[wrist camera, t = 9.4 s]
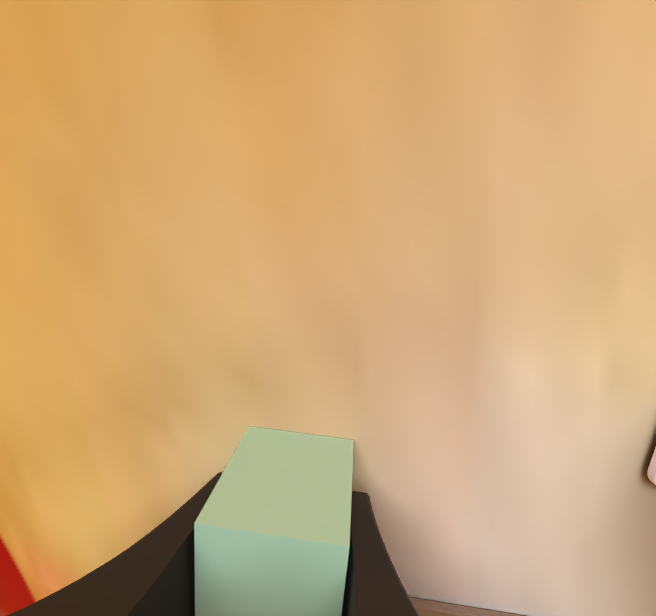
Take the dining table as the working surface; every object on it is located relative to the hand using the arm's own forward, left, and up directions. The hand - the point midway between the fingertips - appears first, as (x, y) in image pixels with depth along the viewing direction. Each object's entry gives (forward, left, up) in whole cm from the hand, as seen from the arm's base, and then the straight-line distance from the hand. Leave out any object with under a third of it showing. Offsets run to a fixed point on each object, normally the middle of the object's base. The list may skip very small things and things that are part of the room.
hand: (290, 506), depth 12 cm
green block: (0, 0, -1) cm, 1 cm away
